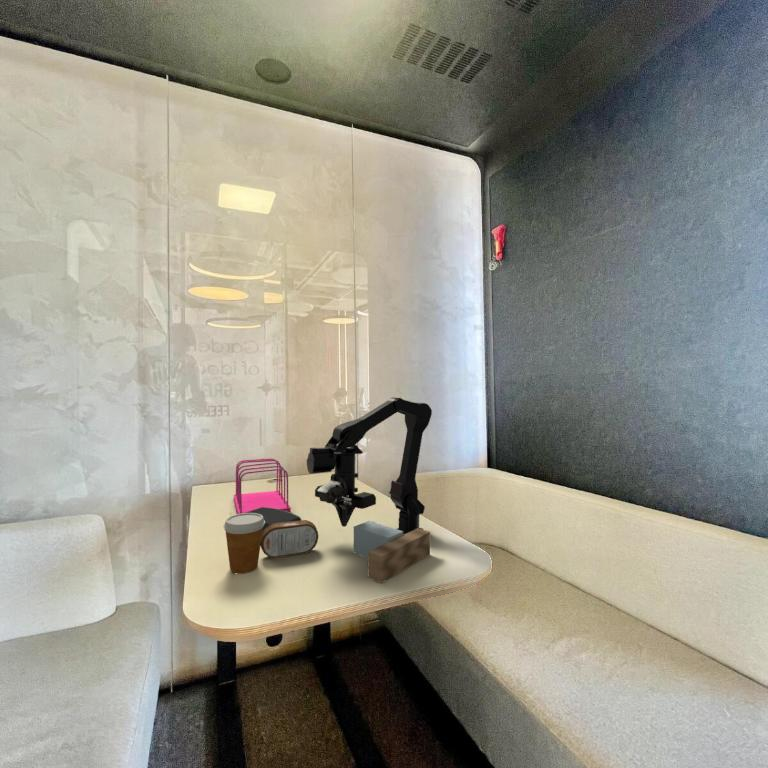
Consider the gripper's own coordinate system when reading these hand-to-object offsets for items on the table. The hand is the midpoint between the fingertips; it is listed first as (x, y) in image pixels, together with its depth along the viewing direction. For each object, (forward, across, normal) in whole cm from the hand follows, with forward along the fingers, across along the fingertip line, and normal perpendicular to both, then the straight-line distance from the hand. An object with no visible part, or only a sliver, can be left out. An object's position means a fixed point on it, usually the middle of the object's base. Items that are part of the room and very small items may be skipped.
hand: (344, 526), depth 111 cm
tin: (+6, -6, -14) cm, 16 cm away
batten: (+5, +20, 0) cm, 21 cm away
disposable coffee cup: (+6, -9, -26) cm, 28 cm away
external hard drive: (+6, -28, -5) cm, 29 cm away
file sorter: (+6, -49, +6) cm, 50 cm away
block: (+5, +12, +1) cm, 13 cm away
